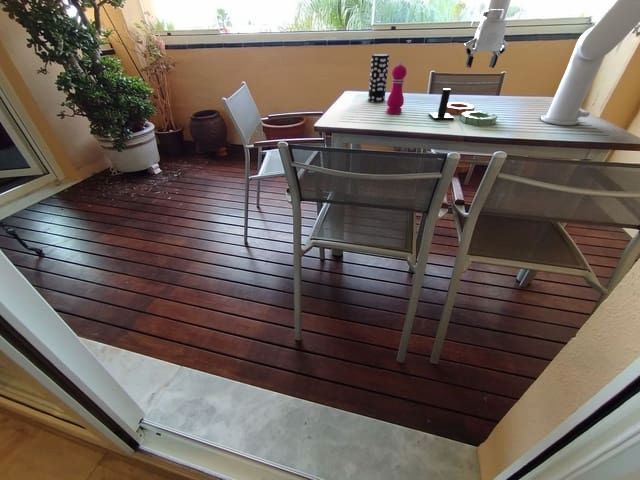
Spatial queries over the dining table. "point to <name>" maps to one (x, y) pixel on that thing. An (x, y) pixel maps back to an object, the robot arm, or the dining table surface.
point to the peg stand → (443, 107)
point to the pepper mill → (396, 89)
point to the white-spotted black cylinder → (378, 77)
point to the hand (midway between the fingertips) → (479, 67)
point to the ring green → (478, 118)
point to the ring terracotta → (459, 108)
